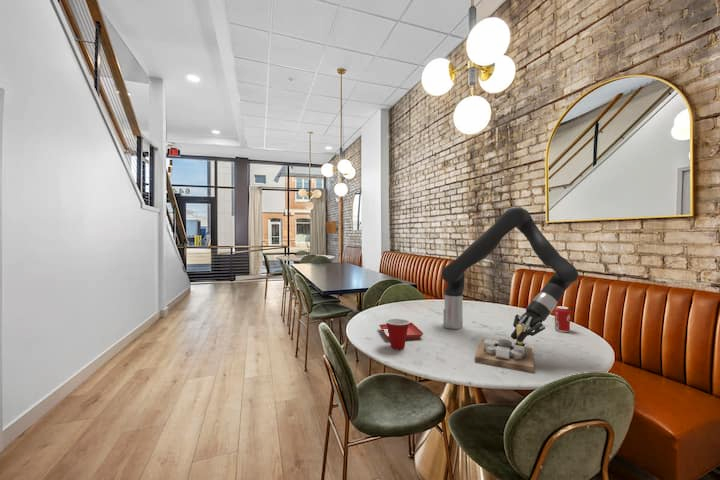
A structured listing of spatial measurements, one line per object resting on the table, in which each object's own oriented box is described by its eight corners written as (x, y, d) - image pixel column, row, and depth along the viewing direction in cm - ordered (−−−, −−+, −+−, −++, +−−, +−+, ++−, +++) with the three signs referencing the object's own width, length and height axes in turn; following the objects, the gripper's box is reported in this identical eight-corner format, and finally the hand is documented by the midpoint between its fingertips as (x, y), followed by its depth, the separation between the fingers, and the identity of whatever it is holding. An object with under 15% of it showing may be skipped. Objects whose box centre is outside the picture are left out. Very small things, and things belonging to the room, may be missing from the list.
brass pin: (516, 355, 117) (516, 325, 117) (516, 353, 119) (516, 323, 119) (523, 356, 116) (523, 326, 116) (523, 354, 118) (523, 324, 118)
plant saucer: (386, 343, 138) (386, 336, 138) (378, 330, 156) (378, 324, 156) (424, 340, 141) (424, 333, 141) (411, 328, 159) (411, 322, 158)
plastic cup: (412, 344, 135) (411, 318, 135) (407, 353, 125) (407, 325, 125) (388, 341, 139) (388, 316, 138) (382, 350, 129) (382, 322, 128)
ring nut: (481, 354, 118) (481, 344, 118) (487, 342, 131) (487, 333, 131) (525, 362, 110) (525, 351, 110) (526, 348, 123) (526, 339, 123)
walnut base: (474, 361, 117) (474, 345, 116) (481, 344, 134) (481, 329, 134) (533, 372, 107) (534, 354, 107) (532, 352, 125) (532, 337, 125)
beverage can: (572, 333, 147) (572, 309, 147) (558, 332, 149) (558, 308, 148) (566, 329, 154) (566, 306, 153) (552, 328, 155) (552, 305, 155)
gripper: (522, 296, 125) (497, 327, 123) (551, 304, 112) (523, 339, 109) (533, 308, 127) (508, 339, 124) (562, 317, 113) (535, 352, 111)
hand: (515, 339), depth 117 cm, fingers closed on brass pin, 2 cm apart
